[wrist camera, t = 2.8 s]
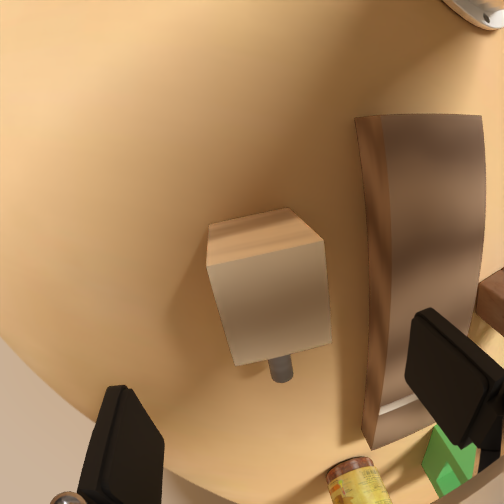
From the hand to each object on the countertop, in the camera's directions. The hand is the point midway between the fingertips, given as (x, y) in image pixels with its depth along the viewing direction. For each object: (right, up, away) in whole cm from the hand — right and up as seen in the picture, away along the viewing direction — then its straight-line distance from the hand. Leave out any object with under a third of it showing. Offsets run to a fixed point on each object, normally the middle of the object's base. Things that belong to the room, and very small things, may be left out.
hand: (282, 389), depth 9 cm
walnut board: (+11, 0, +12) cm, 16 cm away
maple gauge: (0, +2, +10) cm, 10 cm away
